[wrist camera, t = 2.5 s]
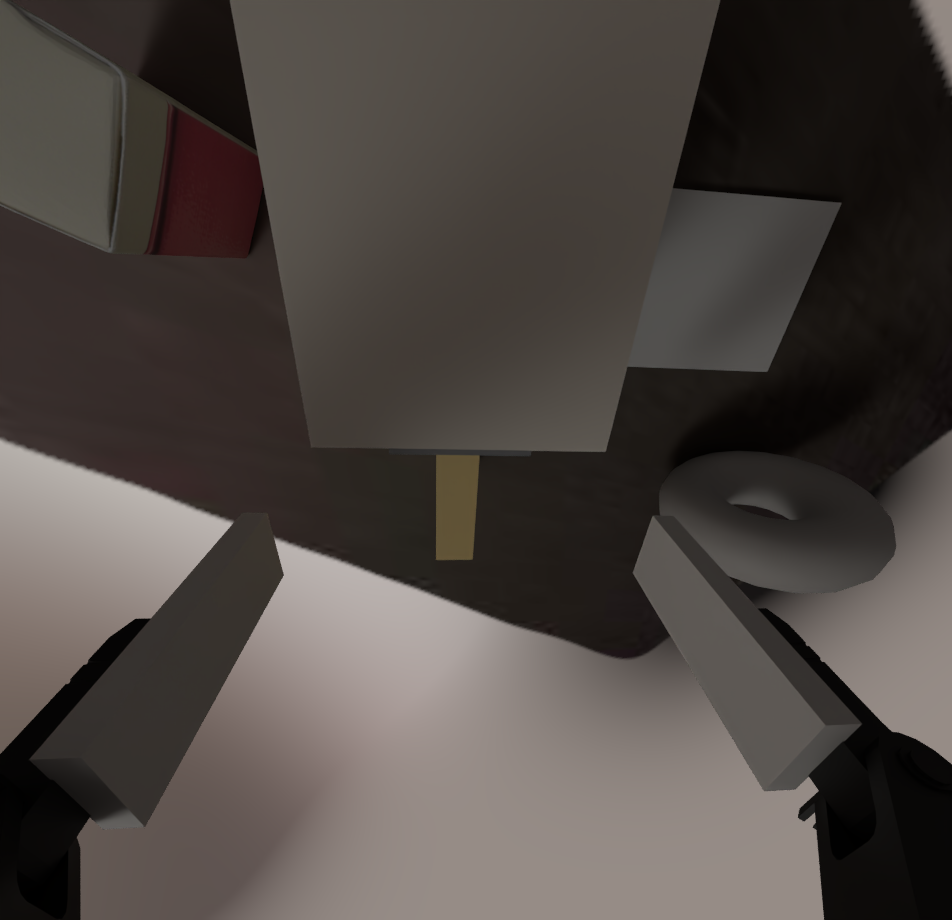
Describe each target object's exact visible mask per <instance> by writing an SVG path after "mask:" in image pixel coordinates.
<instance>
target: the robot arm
mask: <svg viewBox="0 0 952 920" xmlns="http://www.w3.org/2000/svg"><path fill="white" fill-rule="evenodd" d="M633 574H634V576H635V578H636V579H637V581H638V582H639V584H640V586H641V587H642V589H643V591H644V592H645V594H646V596H647V597H648V599H649V601H650V602H651V604H652V606H653V607H654V609H655V611H656V612H657V614H658V616H659V617H660V619H661V621H662V622H663V624H664V626H665V627H666V629H667V631H668V632H669V634H670V636H671V637H672V639H673V641H674V642H675V644H676V646H677V647H678V649H679V651H680V652H681V654H682V656H683V657H684V659H685V661H686V662H687V664H688V665H689V667H690V669H691V671H692V672H693V674H694V676H695V677H696V679H697V680H698V682H699V684H700V686H701V687H702V689H703V690H704V692H705V694H706V696H707V697H708V699H709V700H710V702H711V704H712V706H713V707H714V708H715V710H716V712H717V714H718V715H719V717H720V719H721V720H722V722H723V724H724V725H725V727H726V729H727V730H728V732H729V734H730V735H731V737H732V739H733V740H734V742H735V744H736V745H737V747H738V749H739V750H740V752H741V754H742V755H743V757H744V759H745V760H746V762H747V764H748V765H749V767H750V769H751V770H752V772H753V774H754V775H755V777H756V778H757V780H758V782H759V784H760V785H761V787H762V789H763V790H764V791H776V790H792V789H793V790H794V789H796V788H797V787H798V786H799V785H800V784H801V783H802V782H803V781H804V780H805V779H806V778H807V777H810V779H811V780H812V781H813V783H814V784H815V786H816V787H817V789H818V790H819V791H818V792H817V793H816V794H815V795H814V796H813V797H812V798H811V799H810V800H809V801H807V802H806V803H805V804H804V805H803V806H802V807H801V808H800V810H799V814H798V818H799V819H801V820H802V821H805V820H806V819H808V818H809V817H810V816H811V815H812V814H813V813H815V816H816V823H815V825H814V826H813V828H815V829H816V830H817V840H818V852H819V864H820V876H821V888H822V900H823V910H824V920H952V764H951V763H949V762H948V761H947V760H946V759H944V758H943V757H942V756H941V755H939V754H938V753H937V752H936V751H934V750H933V749H931V748H930V747H928V746H926V745H925V744H923V743H921V742H920V741H918V740H916V739H914V738H911V737H909V736H906V735H904V734H901V733H897V732H892V731H891V730H889V729H888V728H887V727H886V726H885V725H884V724H883V723H882V722H881V721H880V720H879V719H878V718H877V717H876V716H875V715H874V714H873V713H872V712H871V710H870V709H869V708H868V707H867V706H866V705H865V704H864V703H863V702H862V701H861V700H860V699H859V698H858V697H857V696H856V695H855V694H854V693H853V692H852V691H851V690H850V688H849V687H848V686H847V685H846V684H845V683H844V682H843V681H842V680H841V679H840V678H839V677H838V676H837V675H836V674H835V673H834V672H833V671H832V670H831V669H830V668H829V666H827V664H826V663H825V662H822V661H821V660H820V657H819V656H818V655H817V654H816V653H815V652H814V651H813V650H812V649H811V648H810V647H809V646H806V644H805V642H804V640H803V639H802V638H801V637H800V636H799V635H798V634H797V633H796V632H795V631H794V630H793V629H792V628H791V627H790V626H789V625H788V624H787V623H786V622H784V621H783V620H781V619H780V618H779V617H777V616H776V615H775V614H773V613H772V612H770V611H769V610H768V609H766V608H765V609H757V607H756V606H755V605H754V604H753V603H752V602H751V601H750V600H749V599H748V598H747V596H745V594H744V593H743V592H742V591H741V590H740V589H739V588H738V587H737V585H736V584H735V583H734V582H733V581H732V580H731V579H730V578H729V577H728V576H727V574H726V573H725V572H724V571H723V570H722V569H721V568H720V567H719V566H718V565H717V563H716V562H715V561H714V560H713V559H712V558H711V557H710V556H709V555H708V553H707V552H706V551H705V550H704V549H703V548H702V547H701V546H700V545H699V544H698V542H697V541H696V540H695V539H694V538H693V537H692V536H691V535H690V534H689V533H688V531H687V530H686V529H685V528H684V527H683V526H682V525H681V524H680V523H679V522H678V520H677V519H676V518H675V517H674V516H653V517H652V520H651V522H650V525H649V528H648V531H647V534H646V537H645V540H644V542H643V545H642V548H641V551H640V554H639V557H638V560H637V563H636V565H635V568H634V571H633ZM283 576H284V574H283V571H282V567H281V563H280V560H279V556H278V552H277V548H276V544H275V540H274V537H273V533H272V529H271V525H270V522H269V518H268V514H267V513H242V514H241V515H240V516H239V517H238V519H237V520H236V521H235V522H234V523H233V524H232V526H231V527H230V528H229V529H228V530H227V531H226V533H225V534H224V535H223V536H222V537H221V538H220V539H219V541H218V542H217V543H216V544H215V545H214V546H213V548H212V549H211V550H210V551H209V552H208V553H207V555H206V556H205V557H204V558H203V559H202V560H201V561H200V563H199V564H198V565H197V566H196V567H195V568H194V570H193V571H192V572H191V573H190V574H189V575H188V576H187V578H186V579H185V580H184V581H183V582H182V583H181V585H180V586H179V587H178V588H177V589H176V590H175V592H174V593H173V594H172V595H171V596H170V597H169V599H168V600H167V601H166V602H165V603H164V604H163V605H162V607H161V608H160V609H159V610H158V611H157V612H156V614H155V615H154V616H153V617H152V618H151V619H135V620H133V621H132V622H130V623H129V624H128V625H126V626H125V627H124V628H122V629H121V630H119V631H118V632H116V633H115V634H114V635H112V636H111V637H109V638H108V639H107V640H106V642H105V643H104V644H103V645H102V646H101V647H100V648H99V649H98V650H97V651H96V653H94V654H93V655H92V657H91V658H90V659H89V660H88V663H87V664H86V665H83V666H82V667H81V668H80V669H79V671H78V672H77V673H76V674H75V675H74V676H73V677H72V678H71V679H70V680H71V681H70V683H69V684H65V686H64V687H63V688H62V689H61V690H60V691H59V692H58V693H57V694H56V695H55V696H54V697H53V698H52V699H51V700H50V702H49V703H48V704H47V705H46V706H45V707H44V708H43V709H42V710H41V711H40V712H39V713H38V714H37V715H36V717H35V718H34V719H33V720H32V721H31V722H30V723H29V724H28V725H27V726H26V727H25V728H24V729H23V730H22V732H21V733H20V734H19V735H18V736H17V737H16V738H15V739H14V740H13V741H12V742H11V743H10V744H9V745H8V746H7V748H6V749H5V750H4V751H3V752H2V753H1V754H0V920H80V846H79V843H78V840H77V836H78V834H79V832H80V831H81V830H82V828H83V827H84V825H85V823H86V822H87V820H88V819H89V817H90V818H91V819H92V820H94V821H95V822H96V823H97V824H98V825H99V826H100V827H101V828H102V829H119V828H137V827H145V826H146V824H147V822H148V820H149V819H150V817H151V815H152V813H153V811H154V810H155V808H156V806H157V804H158V802H159V800H160V798H161V797H162V795H163V793H164V791H165V790H166V788H167V786H168V784H169V782H170V780H171V779H172V777H173V775H174V773H175V771H176V770H177V768H178V766H179V764H180V762H181V760H182V759H183V757H184V755H185V753H186V751H187V750H188V748H189V746H190V744H191V742H192V741H193V739H194V737H195V735H196V733H197V731H198V730H199V728H200V726H201V724H202V722H203V721H204V719H205V717H206V715H207V713H208V711H209V710H210V708H211V706H212V704H213V702H214V701H215V699H216V697H217V695H218V693H219V692H220V690H221V688H222V686H223V684H224V683H225V681H226V679H227V677H228V675H229V673H230V672H231V670H232V668H233V666H234V664H235V662H236V661H237V659H238V657H239V655H240V654H241V652H242V650H243V648H244V646H245V644H246V643H247V641H248V639H249V637H250V635H251V634H252V632H253V630H254V628H255V626H256V625H257V623H258V621H259V619H260V617H261V615H262V614H263V612H264V610H265V608H266V606H267V605H268V603H269V601H270V599H271V597H272V595H273V593H274V592H275V590H276V588H277V586H278V585H279V583H280V581H281V579H282V577H283Z"/></svg>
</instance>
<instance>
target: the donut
mask: <svg viewBox="0 0 952 920" xmlns="http://www.w3.org/2000/svg"><path fill="white" fill-rule="evenodd" d="M732 504H744V505H753V506H757V507H761V508H765V509H769V510H771V511H774V512H776V513H778V514H781V515H783V516H785V517H786V518H788V519H790V520H782V519H773V518H767V517H763V516H759V515H755V514H752V513H749V512H746V511H744V510H742V509H739V508H737V507H735V506H733V505H732ZM659 508H660V516H674V517H675V518H676V519H677V520H678V522H679V523H680V524H681V525H682V526H683V527H684V528H685V529H686V530H687V531H688V533H689V534H690V535H691V536H692V537H693V538H694V539H695V540H696V541H697V542H698V544H699V545H700V546H701V547H702V548H703V549H704V550H705V551H706V552H707V553H708V555H709V556H710V557H711V558H712V559H713V560H714V561H715V562H716V563H717V565H718V566H719V567H720V568H721V569H722V570H723V571H724V572H725V573H726V574H727V575H728V576H730V577H733V578H736V579H739V580H741V581H744V582H747V583H750V584H752V585H755V586H759V587H765V588H771V589H776V590H782V591H787V592H793V593H829V592H837V591H841V590H844V589H847V588H849V587H852V586H855V585H858V584H861V583H864V582H867V581H870V580H873V579H874V578H875V577H876V575H878V574H879V573H880V571H881V570H882V569H883V568H884V567H885V566H886V564H887V563H888V562H889V561H890V560H891V558H892V557H893V556H894V552H895V549H896V542H895V533H894V526H893V523H892V520H891V518H890V516H889V515H888V514H887V513H886V511H885V510H884V509H883V507H882V506H881V505H880V504H879V503H878V501H877V500H876V499H875V498H874V497H873V496H872V495H871V494H870V493H869V492H867V491H866V490H864V489H863V488H862V487H860V486H859V485H857V484H856V483H854V482H853V481H851V480H850V479H848V478H847V477H844V476H842V475H840V474H838V473H836V472H833V471H831V470H829V469H827V468H824V467H822V466H820V465H816V464H813V463H810V462H806V461H803V460H800V459H796V458H793V457H788V456H782V455H777V454H771V453H765V452H752V451H726V452H713V453H710V454H706V455H702V456H698V457H695V458H692V459H690V460H688V461H686V462H685V463H683V464H681V465H680V466H678V467H676V468H675V469H673V470H672V472H671V473H670V474H669V475H668V477H667V478H666V480H665V481H664V483H663V484H662V486H661V489H660V491H659Z"/></svg>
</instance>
